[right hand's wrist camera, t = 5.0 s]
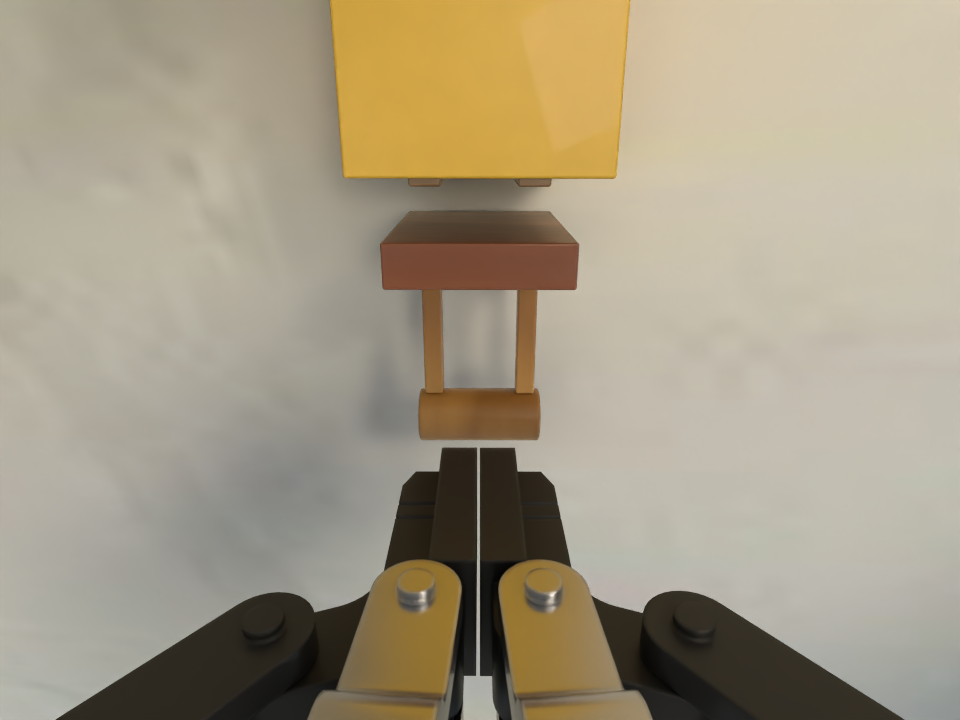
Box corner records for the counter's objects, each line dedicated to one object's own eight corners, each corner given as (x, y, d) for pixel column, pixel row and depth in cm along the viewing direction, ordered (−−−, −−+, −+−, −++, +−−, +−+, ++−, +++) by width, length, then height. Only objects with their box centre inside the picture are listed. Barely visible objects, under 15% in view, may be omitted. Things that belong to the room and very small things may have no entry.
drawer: (542, 399, 24) (564, 493, 17) (416, 399, 24) (394, 493, 17) (575, -397, 16) (639, -748, 9) (385, -398, 16) (323, -748, 9)
